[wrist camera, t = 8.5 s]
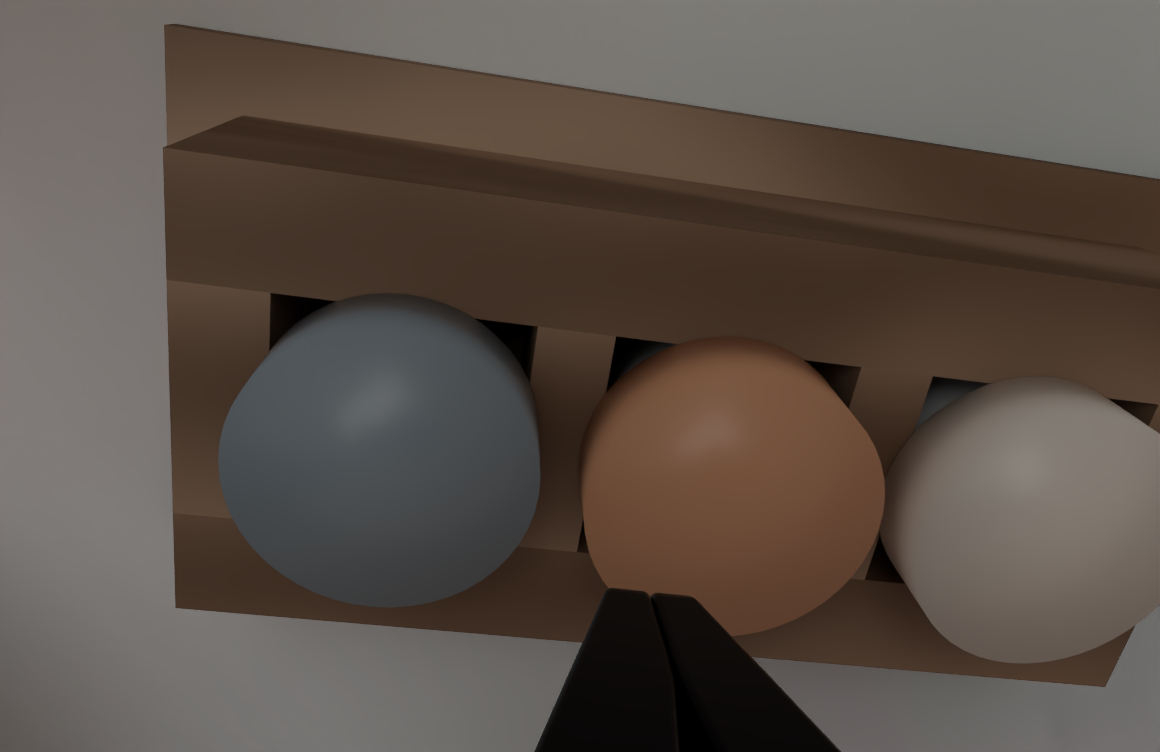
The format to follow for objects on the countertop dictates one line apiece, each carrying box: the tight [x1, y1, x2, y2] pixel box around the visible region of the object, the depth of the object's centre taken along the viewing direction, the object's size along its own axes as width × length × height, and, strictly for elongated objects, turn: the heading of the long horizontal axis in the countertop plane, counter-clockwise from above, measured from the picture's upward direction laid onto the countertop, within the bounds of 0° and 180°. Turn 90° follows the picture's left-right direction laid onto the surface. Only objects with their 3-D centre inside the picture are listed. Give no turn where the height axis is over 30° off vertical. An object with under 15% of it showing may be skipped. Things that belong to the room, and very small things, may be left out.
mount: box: [163, 24, 1160, 687], centre depth 19 cm, size 12×23×5 cm, turn 81°
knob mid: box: [578, 336, 885, 636], centre depth 17 cm, size 5×5×5 cm
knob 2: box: [879, 376, 1160, 664], centre depth 18 cm, size 5×5×5 cm
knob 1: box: [218, 293, 540, 608], centre depth 17 cm, size 5×5×5 cm
